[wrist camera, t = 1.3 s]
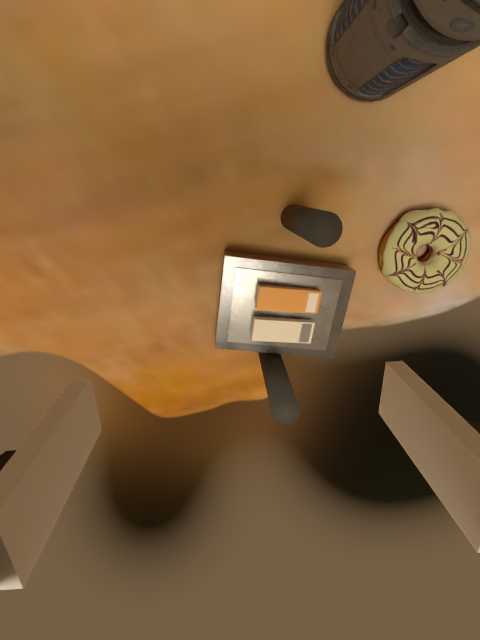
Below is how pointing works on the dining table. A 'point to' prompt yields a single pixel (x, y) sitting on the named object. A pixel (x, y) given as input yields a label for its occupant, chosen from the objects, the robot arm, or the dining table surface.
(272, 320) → the paddle ivory
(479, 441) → the robot arm
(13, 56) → the dining table surface
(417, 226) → the decorated donut
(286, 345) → the breaker box
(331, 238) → the post near
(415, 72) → the beverage bottle
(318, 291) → the paddle orange
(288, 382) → the post far
